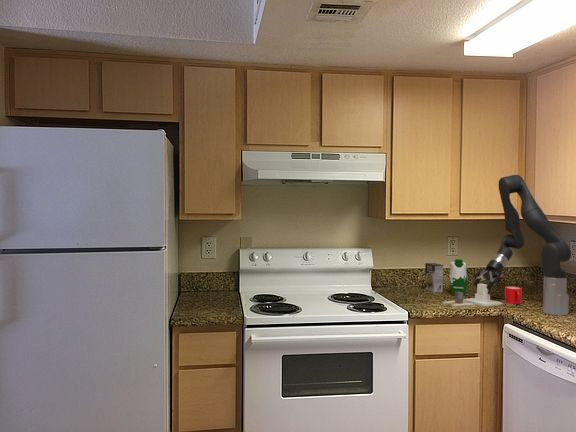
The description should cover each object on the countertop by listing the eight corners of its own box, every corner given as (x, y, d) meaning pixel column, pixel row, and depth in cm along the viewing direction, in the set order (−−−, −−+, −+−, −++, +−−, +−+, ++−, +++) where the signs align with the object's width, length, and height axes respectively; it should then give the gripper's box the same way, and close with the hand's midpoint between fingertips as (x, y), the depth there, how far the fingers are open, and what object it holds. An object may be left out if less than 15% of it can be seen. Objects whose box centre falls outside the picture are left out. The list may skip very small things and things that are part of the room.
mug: (512, 306, 218) (512, 290, 217) (502, 300, 230) (502, 286, 229) (528, 306, 217) (528, 290, 217) (517, 301, 229) (517, 286, 229)
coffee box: (424, 289, 260) (424, 263, 260) (433, 289, 262) (433, 262, 262) (433, 292, 252) (434, 264, 251) (443, 291, 254) (443, 264, 253)
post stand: (475, 306, 216) (475, 293, 216) (458, 308, 212) (458, 295, 212) (459, 302, 226) (459, 289, 226) (442, 304, 222) (442, 291, 222)
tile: (502, 304, 221) (502, 302, 221) (484, 306, 216) (484, 304, 216) (480, 299, 234) (480, 297, 234) (463, 300, 229) (463, 299, 229)
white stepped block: (489, 301, 224) (490, 284, 224) (482, 302, 222) (482, 285, 222) (482, 299, 229) (482, 283, 228) (475, 300, 227) (475, 284, 226)
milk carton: (450, 295, 244) (450, 259, 244) (449, 292, 253) (449, 258, 253) (467, 296, 242) (467, 260, 241) (465, 292, 251) (465, 258, 250)
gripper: (482, 257, 234) (466, 280, 230) (505, 260, 221) (488, 284, 217) (489, 267, 236) (474, 289, 232) (512, 270, 223) (496, 294, 219)
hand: (481, 287), depth 225 cm, fingers open, 8 cm apart
